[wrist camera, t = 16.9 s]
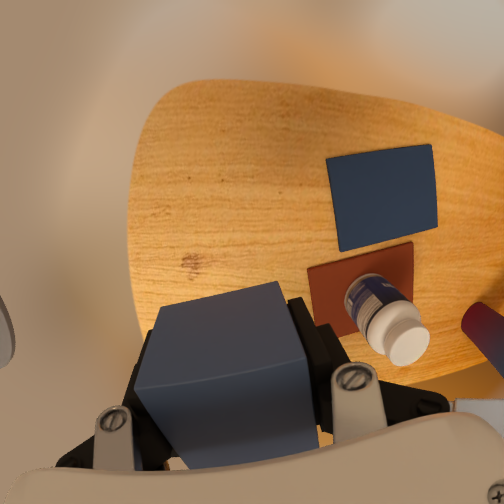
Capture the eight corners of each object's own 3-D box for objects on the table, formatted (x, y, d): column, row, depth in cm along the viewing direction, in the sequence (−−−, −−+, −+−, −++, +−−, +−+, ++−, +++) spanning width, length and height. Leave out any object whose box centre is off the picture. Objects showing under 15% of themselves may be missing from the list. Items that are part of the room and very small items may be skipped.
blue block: (196, 389, 13) (191, 472, 8) (160, 306, 11) (132, 389, 7) (295, 369, 13) (320, 450, 8) (277, 280, 11) (306, 357, 7)
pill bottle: (396, 283, 31) (447, 329, 22) (370, 323, 32) (410, 378, 23) (361, 263, 29) (410, 311, 20) (333, 307, 31) (370, 366, 22)
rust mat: (317, 340, 33) (318, 343, 32) (306, 268, 30) (308, 270, 29) (410, 311, 33) (412, 313, 32) (411, 241, 30) (413, 242, 29)
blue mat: (339, 250, 29) (340, 252, 29) (325, 158, 26) (327, 159, 26) (435, 226, 29) (437, 227, 29) (429, 144, 26) (431, 144, 26)
